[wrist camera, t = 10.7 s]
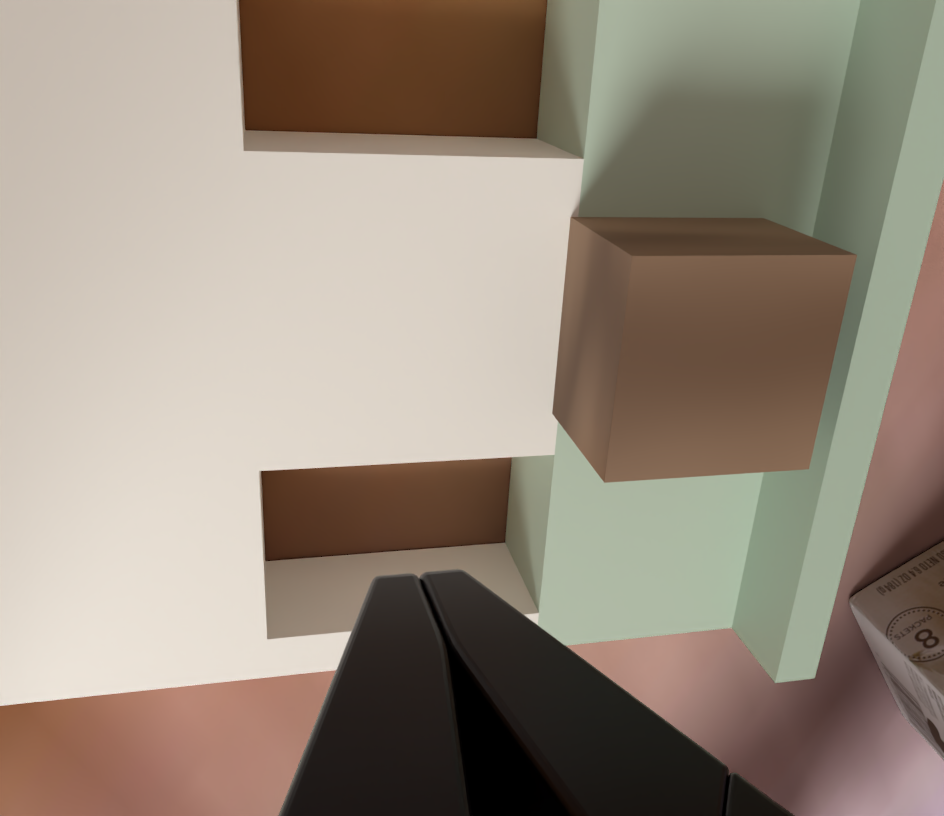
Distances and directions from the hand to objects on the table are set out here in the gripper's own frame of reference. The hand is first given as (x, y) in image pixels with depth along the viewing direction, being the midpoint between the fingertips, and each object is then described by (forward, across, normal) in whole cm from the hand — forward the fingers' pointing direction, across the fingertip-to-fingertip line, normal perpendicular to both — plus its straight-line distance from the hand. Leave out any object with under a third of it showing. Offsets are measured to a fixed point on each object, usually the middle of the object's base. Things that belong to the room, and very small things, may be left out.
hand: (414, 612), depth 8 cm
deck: (+12, -2, 0) cm, 12 cm away
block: (+9, -6, 0) cm, 11 cm away
